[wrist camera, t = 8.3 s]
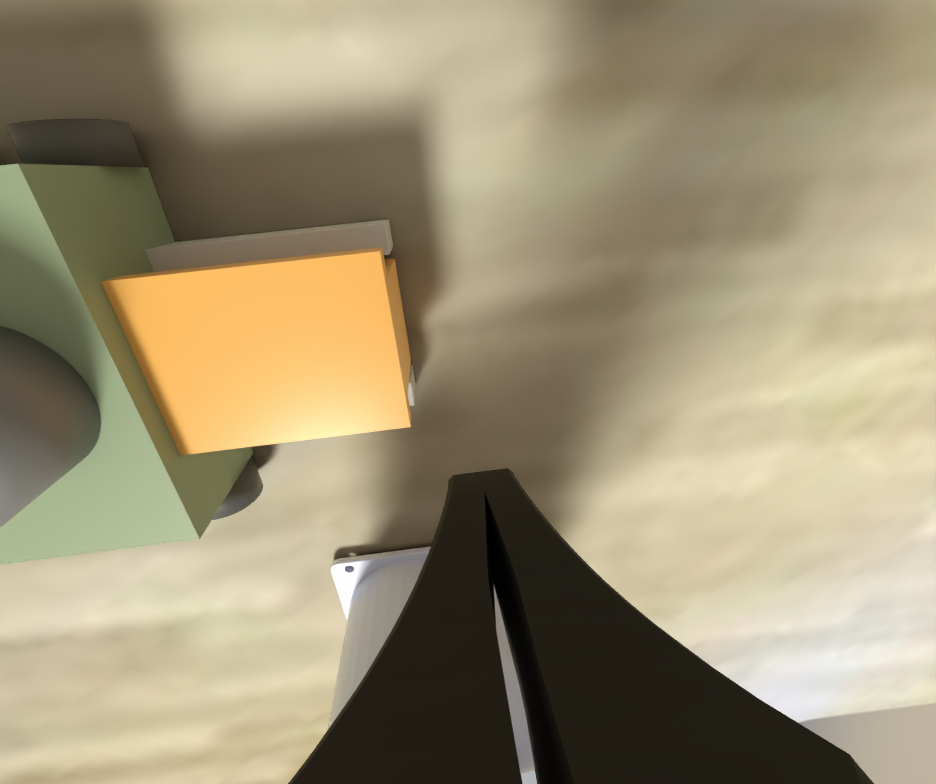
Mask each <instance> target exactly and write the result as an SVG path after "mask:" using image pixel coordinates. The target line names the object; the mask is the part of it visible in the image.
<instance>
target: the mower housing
mask: <svg viewBox="0 0 936 784" xmlns="http://www.w3.org/2000/svg"><path fill="white" fill-rule="evenodd" d="M6 129H7V131H8V133H9V135H10V137H11V139H12V141H13V143H14V145H15V148H16V150H17V152H18V154H19V156H20V158H21V160H22V162H23V164H10V165H0V565H2V564H10V563H18V562H26V561H33V560H41V559H49V558H57V557H64V556H72V555H80V554H87V553H95V552H103V551H111V550H118V549H126V548H134V547H142V546H149V545H157V544H165V543H173V542H180V541H188V540H196V539H200V538H201V536H202V534H203V533H204V531H205V530H206V528H207V526H208V525H209V523H210V522H211V520H215V519H220V518H224V517H227V516H230V515H232V514H235V513H237V512H239V511H241V510H242V509H244V508H246V507H247V506H249V505H250V504H251V503H252V502H254V501H255V500H256V499H257V498H258V496H259V495H260V493H261V492H262V489H263V484H262V481H261V478H260V475H259V473H258V470H257V467H256V465H255V462H254V460H253V459H252V458H251V456H252V455H253V451H252V448H251V447H245V448H236V449H228V450H220V451H212V452H204V453H196V454H188V455H180V453H179V451H178V449H177V447H176V445H175V443H174V440H173V438H172V436H171V434H170V432H169V429H168V427H167V425H166V423H165V421H164V419H163V416H162V414H161V412H160V410H159V408H158V405H157V403H156V401H155V399H154V397H153V395H152V392H151V390H150V388H149V386H148V384H147V381H146V379H145V377H144V375H143V373H142V371H141V368H140V366H139V364H138V362H137V360H136V357H135V355H134V353H133V351H132V349H131V347H130V344H129V342H128V340H127V338H126V336H125V333H124V331H123V329H122V327H121V325H120V323H119V320H118V318H117V316H116V314H115V312H114V309H113V307H112V305H111V303H110V301H109V299H108V296H107V294H106V292H105V290H104V288H103V285H102V283H101V282H102V281H105V280H108V279H111V278H114V277H117V276H124V275H133V274H142V273H151V272H160V271H169V270H179V269H188V268H197V267H206V266H215V265H224V264H233V263H243V262H252V261H261V260H270V259H279V258H288V257H298V256H307V255H316V254H325V253H334V252H343V251H352V250H362V249H371V248H380V247H382V248H383V254H384V255H389V254H390V252H391V250H392V248H393V241H392V235H391V229H390V223H389V219H386V220H377V221H367V222H358V223H349V224H339V225H330V226H321V227H311V228H302V229H293V230H283V231H274V232H265V233H255V234H246V235H237V236H227V237H218V238H209V239H199V240H190V241H181V242H175V239H174V237H173V234H172V231H171V229H170V226H169V223H168V220H167V218H166V215H165V212H164V210H163V207H162V204H161V201H160V199H159V196H158V193H157V191H156V188H155V185H154V183H153V180H152V177H151V174H150V172H149V169H148V167H144V164H143V161H142V158H141V156H140V153H139V150H138V148H137V145H136V142H135V140H134V137H133V134H132V132H131V129H130V126H129V124H128V123H125V122H121V121H114V120H101V119H53V120H37V121H27V122H20V123H14V124H10V125H7V126H6ZM415 388H416V384H415V378H414V371H413V365H412V364H411V365H410V374H409V385H408V399H409V405H410V406H413V405H415Z"/></svg>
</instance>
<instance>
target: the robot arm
mask: <svg viewBox="0 0 936 784" xmlns="http://www.w3.org/2000/svg"><path fill="white" fill-rule="evenodd" d="M348 565H349V566H352V567H349V566H348ZM331 573H332V576H333V580H334V583H335V586H336V589H337V592H338V595H339V598H340V601H341V604H342V608H343V611H344V614H345V617H346V620H347V625H346V630H345V636H344V642H343V647H342V653H341V658H340V664H339V669H338V675H337V681H336V686H335V692H334V697H333V703H332V708H331V714H330V720H329V725H328V731H327V732H326V734H325V735H324V736H323V738H322V739H321V741H320V742H319V744H318V745H317V746H316V748H315V749H314V751H313V752H312V753H311V755H310V756H309V757H308V759H307V760H306V761H305V763H304V764H303V765H302V767H301V768H300V769H299V771H298V772H297V773H296V774H295V776H294V777H293V778H292V779H291V781H290V782H289V783H288V784H522V779H521V774H522V773H525V772H529V771H532V770H535V773H536V779H537V784H874V783H873V782H872V781H871V780H870V778H869V777H868V776H867V775H866V774H865V773H864V771H863V770H862V769H861V768H860V767H859V766H858V765H857V763H856V762H855V761H854V759H853V758H852V757H851V756H850V755H849V754H848V753H846V752H845V751H843V750H841V749H840V748H838V747H836V746H835V745H833V744H832V743H830V742H828V741H827V740H825V739H823V738H821V737H820V736H818V735H817V734H815V733H813V732H812V731H810V730H809V729H807V728H805V727H804V726H802V725H800V724H799V723H797V722H796V721H794V720H792V719H791V718H789V717H787V716H786V715H784V714H782V713H781V712H779V711H778V710H776V709H774V708H773V707H771V706H769V705H768V704H766V703H765V702H763V701H761V700H760V699H758V698H757V697H755V696H754V695H752V694H751V693H749V692H748V691H746V690H745V689H744V688H742V687H741V686H739V685H738V684H736V683H735V682H733V681H732V680H730V679H729V678H727V677H726V676H724V675H723V674H722V673H720V672H719V671H717V670H716V669H714V668H713V667H711V666H710V665H709V664H707V663H706V662H705V661H703V660H702V659H701V658H699V657H698V656H697V655H695V654H694V653H693V652H691V651H690V650H689V649H687V648H686V647H685V646H683V645H682V644H681V643H679V642H678V641H677V640H675V639H674V638H673V637H671V636H670V635H669V634H667V633H666V632H665V631H663V630H662V629H661V628H659V627H658V626H657V625H655V624H654V623H653V622H652V621H650V620H649V619H648V618H647V617H646V616H644V615H643V614H642V613H641V612H640V611H638V610H637V609H636V608H635V607H634V606H632V605H631V604H630V603H629V602H628V601H626V600H625V599H624V598H623V597H622V596H621V595H620V594H619V593H618V592H616V591H615V590H614V589H613V588H612V587H611V586H610V585H609V584H607V583H606V582H605V581H604V580H603V579H602V578H601V577H600V576H599V575H598V574H597V573H596V572H595V571H594V570H593V569H592V568H591V567H590V566H589V565H588V564H587V563H586V562H585V561H584V560H583V559H582V558H581V557H580V556H579V555H578V554H577V553H576V552H575V551H574V550H573V549H572V548H571V547H570V546H569V545H568V543H567V542H566V541H565V540H564V539H563V538H562V537H561V536H560V535H559V533H558V532H557V531H556V530H555V529H554V528H553V526H552V525H551V524H550V523H549V522H548V520H547V519H546V518H545V517H544V516H543V515H542V513H541V512H540V511H539V510H538V508H537V507H536V506H535V504H534V503H533V502H532V500H531V499H530V498H529V496H528V495H527V494H526V492H525V491H524V489H523V488H522V487H521V485H520V484H519V482H518V480H517V479H516V477H515V476H514V474H513V472H512V471H510V470H509V469H508V468H507V469H499V470H491V471H483V472H475V473H467V474H459V475H453V476H452V477H451V478H450V479H449V483H448V491H447V497H446V501H445V505H444V509H443V512H442V516H441V519H440V522H439V525H438V528H437V531H436V534H435V537H434V540H433V542H432V545H431V546H430V547H422V548H415V549H407V550H400V551H392V552H384V553H377V554H369V555H362V556H354V557H346V558H339V559H336V560H334V561H333V562H332V564H331Z"/></svg>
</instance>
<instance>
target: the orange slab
mask: <svg viewBox="0 0 936 784" xmlns="http://www.w3.org/2000/svg"><path fill="white" fill-rule="evenodd" d="M101 283H102V285H103V288H104V290H105V292H106V294H107V296H108V299H109V301H110V303H111V305H112V307H113V309H114V312H115V314H116V316H117V318H118V320H119V323H120V325H121V327H122V329H123V331H124V333H125V336H126V338H127V340H128V342H129V344H130V347H131V349H132V351H133V353H134V355H135V357H136V360H137V362H138V364H139V366H140V368H141V371H142V373H143V375H144V377H145V379H146V381H147V384H148V386H149V388H150V390H151V392H152V395H153V397H154V399H155V401H156V403H157V405H158V408H159V410H160V412H161V414H162V416H163V419H164V421H165V423H166V425H167V427H168V429H169V432H170V434H171V436H172V438H173V440H174V443H175V445H176V447H177V449H178V451H179V453H180V455H188V454H196V453H204V452H212V451H220V450H228V449H236V448H245V447H253V446H261V445H269V444H277V443H285V442H293V441H302V440H310V439H318V438H326V437H334V436H342V435H350V434H359V433H367V432H375V431H383V430H391V429H399V428H407V427H411V411H410V405H409V399H408V385H409V374H410V363H411V356H410V350H409V344H408V338H407V331H406V325H405V319H404V313H403V307H402V301H401V294H400V288H399V282H398V276H397V270H396V263H395V258H392V259H384V254H383V248H382V247H380V248H371V249H362V250H352V251H343V252H334V253H325V254H316V255H307V256H298V257H288V258H279V259H270V260H261V261H252V262H243V263H233V264H224V265H215V266H206V267H197V268H188V269H179V270H169V271H160V272H151V273H142V274H133V275H124V276H117V277H114V278H111V279H108V280H105V281H102V282H101Z"/></svg>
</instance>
